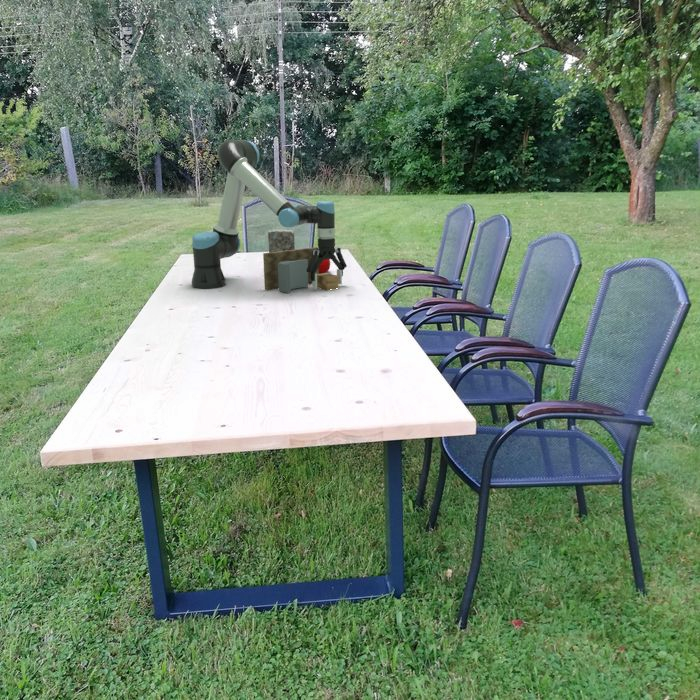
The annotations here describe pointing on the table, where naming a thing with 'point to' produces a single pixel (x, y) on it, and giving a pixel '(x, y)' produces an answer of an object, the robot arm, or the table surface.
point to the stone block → (281, 241)
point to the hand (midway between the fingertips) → (327, 286)
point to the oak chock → (327, 281)
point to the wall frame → (274, 257)
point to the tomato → (324, 266)
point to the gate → (292, 275)
